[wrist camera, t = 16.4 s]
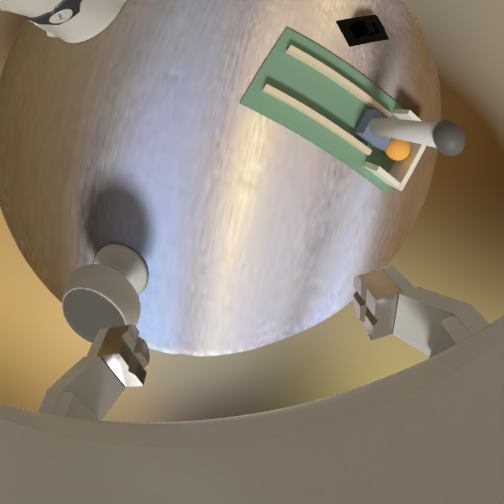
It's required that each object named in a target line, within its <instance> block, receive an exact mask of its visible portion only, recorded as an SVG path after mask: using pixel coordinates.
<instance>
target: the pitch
mask: <svg viewBox="0 0 504 504" xmlns="http://www.w3.org/2000/svg"><path fill="white" fill-rule="evenodd" d="M290 45H292V46H294V47H296V48H298V49H300V50H301V51H303V52H305V53H307V54H308V55H310V56H312V57H313V58H315V59H317V60H318V61H320V62H322V63H323V64H325V65H326V66H328V67H329V68H331V69H333V70H334V71H336V72H337V73H339V74H340V75H341V76H343V77H344V78H346V79H347V80H349V81H350V82H351V83H353V84H354V85H356V86H357V87H358V88H360V89H361V90H362V91H364V92H365V93H366V94H368V95H369V96H370V97H371V98H373V99H374V100H375V101H376V102H378V103H379V104H380V105H381V106H383V107H384V108H385V109H386V110H387V111H389V112H390V113H391V114H392V113H393V111H394V109H403V108H402V107H401V106H400V105H399V104H398V103H396V102H395V101H394V100H393V99H392V98H391V97H390V96H388V95H387V94H386V93H385V92H384V91H382V90H381V89H380V88H379V87H377V86H376V85H375V84H374V83H372V82H371V81H370V80H369V79H367V78H366V77H365V76H363V75H362V74H361V73H359V72H358V71H357V70H355V69H354V68H352V67H351V66H350V65H348V64H347V63H345V62H344V61H342V60H341V59H339V58H338V57H336V56H335V55H333V54H332V53H330V52H329V51H327V50H326V49H324V48H322V47H321V46H319V45H317V44H316V43H314V42H312V41H311V40H309V39H307V38H305V37H304V36H302V35H300V34H298V33H296V32H294V31H293V30H291V29H289V28H286V30H285V31H284V33H283V34H282V36H281V37H280V39H279V40H278V42H277V43H276V45H275V46H274V48H273V49H272V51H271V52H270V54H269V56H268V57H267V59H266V60H265V62H264V63H263V65H262V67H261V68H260V70H259V72H258V73H257V75H256V77H255V78H254V80H253V82H252V83H251V85H250V87H249V88H248V90H247V92H246V93H245V95H244V97H243V99H242V100H241V102H240V104H242V105H244V106H246V107H248V108H250V109H252V110H254V111H256V112H258V113H260V114H262V115H264V116H266V117H268V118H270V119H272V120H273V121H275V122H277V123H279V124H281V125H283V126H284V127H286V128H288V129H290V130H292V131H293V132H295V133H297V134H299V135H300V136H302V137H304V138H305V139H307V140H309V141H310V142H312V143H314V144H315V145H317V146H319V147H320V148H322V149H323V150H325V151H326V152H328V153H330V154H331V155H333V156H334V157H336V158H337V159H339V160H340V161H342V162H343V163H345V164H346V165H348V166H349V167H351V168H352V169H354V170H355V171H356V172H358V173H359V174H361V175H362V176H364V177H365V178H366V179H368V180H369V181H370V182H372V183H373V184H375V185H376V186H377V187H379V188H380V189H381V190H383V191H384V192H385V193H387V192H388V190H389V189H390V187H391V186H390V185H388V184H386V183H385V182H384V181H382V180H381V179H380V178H378V177H377V176H376V175H375V174H373V173H372V172H371V171H369V170H368V169H366V168H365V167H364V166H363V165H364V163H365V162H369V163H372V164H375V165H377V166H380V167H381V168H382V169H384V170H385V171H386V172H387V173H389V171H390V170H391V168H392V166H393V164H394V163H395V161H396V160H393V159H391V158H390V157H388V155H387V154H386V153H385V151H384V150H380V149H376V148H374V147H373V146H371V145H370V144H369V143H367V142H366V141H365V140H363V139H362V138H361V137H359V136H358V135H357V134H355V133H354V131H355V129H356V128H357V126H358V124H359V122H360V120H361V119H362V117H363V115H364V113H365V112H366V110H373V109H372V108H370V107H369V106H368V105H366V104H365V103H364V102H362V101H361V100H360V99H358V98H357V97H356V96H354V95H353V94H352V93H350V92H349V91H347V90H346V89H345V88H343V87H342V86H340V85H339V84H337V83H336V82H334V81H333V80H331V79H330V78H328V77H327V76H325V75H324V74H322V73H320V72H319V71H317V70H315V69H314V68H312V67H311V66H309V65H307V64H305V63H304V62H302V61H300V60H298V59H297V58H295V57H293V56H291V55H289V54H288V53H286V51H287V49H288V48H289V46H290ZM266 84H268V85H270V86H272V87H274V88H276V89H278V90H280V91H281V92H283V93H285V94H287V95H289V96H290V97H292V98H294V99H296V100H297V101H299V102H301V103H303V104H304V105H306V106H308V107H309V108H311V109H313V110H314V111H316V112H317V113H319V114H321V115H322V116H324V117H325V118H327V119H328V120H330V121H331V122H333V123H334V124H336V125H337V126H339V127H340V128H342V129H343V130H345V131H346V132H348V133H349V134H350V135H352V136H353V137H355V138H356V139H357V140H359V141H360V142H361V143H363V144H364V145H365V146H367V147H368V148H369V149H371V150H372V152H371V154H370V155H367V154H364V153H362V152H361V151H360V150H358V149H357V148H356V147H354V146H353V145H351V144H350V143H348V142H347V141H346V140H344V139H343V138H341V137H340V136H338V135H337V134H335V133H334V132H332V131H331V130H329V129H328V128H326V127H325V126H323V125H321V124H320V123H318V122H317V121H315V120H313V119H312V118H310V117H309V116H307V115H305V114H304V113H302V112H300V111H299V110H297V109H295V108H293V107H292V106H290V105H288V104H286V103H284V102H283V101H281V100H279V99H277V98H275V97H273V96H271V95H270V94H268V93H266V92H264V91H262V90H263V88H264V86H265V85H266ZM403 110H404V109H403ZM390 119H398V118H397V117H396V116H395V115H393V114H392V115H391V117H390Z"/></svg>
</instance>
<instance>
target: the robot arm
mask: <svg viewBox="0 0 504 504" xmlns="http://www.w3.org/2000/svg"><path fill="white" fill-rule="evenodd" d="M126 1H127V0H0V10H3V11H9V12H13V13H17V14H21V15H23V16H24V17H25V19H27V20H29V21H30V22H33V23H34V24H35V25H37V26H38V27H40V28H42V29H44V30H46V31H47V35H48V36H49V37H59V38H61V39H62V40H64V41H66V42H69V43H78V42H82V41H85V40H88V39H90V38H92V37H94V36H96V35H97V34H99V33H100V32H101V31H103V30H104V29H105V28H106V27H107V26H108V25H109V24H110V23H111V22H112V21H113V20H114V19H115V18H116V16H117V15H118V13H119V12H120V10H121V8H122V7H123V5H124V3H125V2H126ZM354 287H355V289H356V290H357V291H356V293H355V294H354V296H353V297H354V307H355V311H356V314H357V316H358V318H359V320H361V321H363V322H365V327H364V328H365V330H366V332H367V333H368V335H369V337H370V338H371V340H374V339H377V338H381V337H384V336H387V335H389V334H393V335H394V336H396V337H398V338H399V339H401V340H403V341H405V342H406V343H408V344H410V345H411V346H413V347H415V348H416V349H418V350H420V351H422V352H423V353H425V354H427V355H428V356H430V357H429V359H427V360H425V361H423V362H421V363H418V364H416V365H414V366H412V367H410V368H407V369H405V370H403V371H400V372H398V373H395V374H393V375H390V376H388V377H385V378H383V379H380V380H378V381H375V382H372V383H369V384H367V385H364V386H361V387H358V388H355V389H352V390H349V391H346V392H343V393H340V394H336V395H333V396H329V397H326V398H323V399H319V400H315V401H311V402H308V403H304V404H300V405H295V406H291V407H286V408H282V409H277V410H272V411H267V412H261V413H255V414H249V415H243V416H236V417H229V418H220V419H211V420H200V421H186V422H165V423H164V422H163V423H162V422H160V423H136V422H112V421H101V420H102V419H103V418H104V416H105V415H106V413H107V412H108V411H109V409H110V408H111V407H112V405H113V404H114V403H115V401H116V400H117V399H118V397H119V396H120V395H121V393H122V392H123V391H124V389H125V387H134V386H144V381H145V377H146V371H145V369H144V368H145V367H146V366H147V365H148V363H149V359H150V354H149V348H148V346H147V344H146V342H145V340H143V339H142V338H140V337H138V336H139V331H138V329H137V328H136V326H135V325H132V324H130V325H122V326H114V327H107V328H101V329H100V330H99V331H98V333H97V335H96V337H95V339H94V341H93V343H92V345H91V348H90V350H89V352H88V355H87V357H83V358H82V359H81V360H80V361H79V362H78V363H76V364H75V365H74V366H73V367H72V368H71V369H70V370H69V371H68V372H66V373H65V374H64V375H63V376H62V377H61V378H60V379H59V380H57V381H56V382H55V383H54V384H53V385H52V386H51V387H50V388H49V389H48V390H47V392H46V394H45V397H44V399H43V401H42V404H41V406H40V409H39V411H38V412H37V411H32V410H28V409H23V408H19V407H15V406H12V405H8V404H4V403H1V402H0V504H504V315H503V316H501V317H500V318H499V319H497V320H496V321H494V322H493V323H491V324H489V323H488V322H487V320H486V319H485V318H484V317H483V316H482V315H481V314H480V313H479V312H478V311H477V310H476V309H475V308H474V307H473V306H472V305H471V304H468V303H465V302H462V301H460V300H456V299H454V298H451V297H448V296H445V295H442V294H439V293H436V292H433V291H430V290H427V289H424V288H421V287H416V288H415V287H414V286H413V285H412V284H411V283H410V282H409V281H408V280H407V279H406V278H405V277H404V276H403V275H402V274H401V273H400V272H399V271H398V270H397V269H396V268H395V267H394V266H393V265H388V266H385V267H382V268H379V269H377V270H374V271H371V272H367V273H364V274H360V275H357V276H355V277H354Z"/></svg>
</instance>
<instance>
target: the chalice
mask: <svg viewBox="0 0 504 504" xmlns="http://www.w3.org/2000/svg"><path fill="white" fill-rule="evenodd" d="M147 283H148V270H147V268H146V265H145V263H144V261H143V260H142V258H141V257H140V256H139V255H138V254H137V253H136V252H135V251H133V250H132V249H130V248H128V247H126V246H123V245H119V244H110V245H106V246H104V247H102V248H101V249H100V250H99V251H98V252H97V253H96V255H95V257H94V261H93V264H90V265H86V266H83V267H81V268H79V269H78V270H76V271H75V272H74V273H73V274H72V276H71V277H70V278H69V280H68V282H67V284H66V286H65V289H64V293H63V298H62V308H63V312H64V316H65V318H66V320H67V322H68V324H69V325H70V326H71V328H72V329H73V330H74V331H75V332H76V333H77V334H78V335H80V336H81V337H82V338H84V339H86V340H87V341H90V342H92V343H93V341H94V339H95V337H96V335H97V333H98V331H99V330H100V329H101V328H107V327H114V326H122V325H130V324H132V325H135V326H136V325H137V323H138V319H139V316H140V302H139V297H138V295H139V294H140V293H141V292H143V290H144V289H145V288H146V285H147Z"/></svg>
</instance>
